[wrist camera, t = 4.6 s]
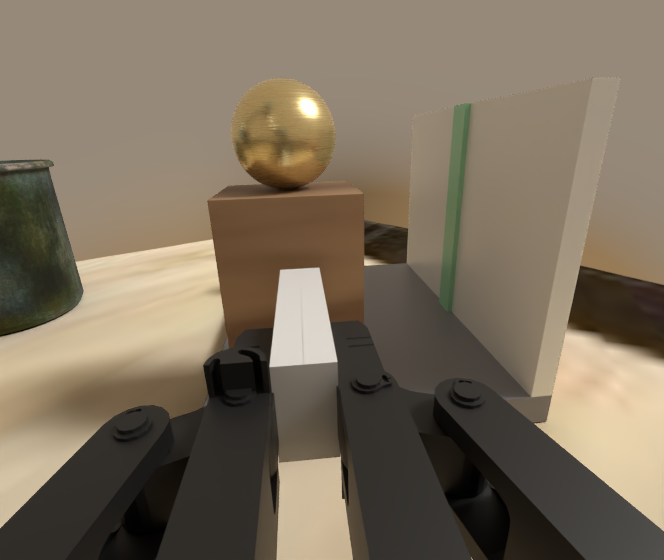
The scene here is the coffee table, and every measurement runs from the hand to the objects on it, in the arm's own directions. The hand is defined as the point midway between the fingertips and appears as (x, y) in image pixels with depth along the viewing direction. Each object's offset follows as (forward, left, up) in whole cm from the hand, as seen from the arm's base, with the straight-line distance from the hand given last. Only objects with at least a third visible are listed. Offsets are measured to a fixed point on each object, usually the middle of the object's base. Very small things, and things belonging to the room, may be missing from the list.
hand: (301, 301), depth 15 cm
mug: (-27, +9, -7) cm, 29 cm away
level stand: (+1, +10, -7) cm, 12 cm away
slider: (-1, +3, -5) cm, 6 cm away
